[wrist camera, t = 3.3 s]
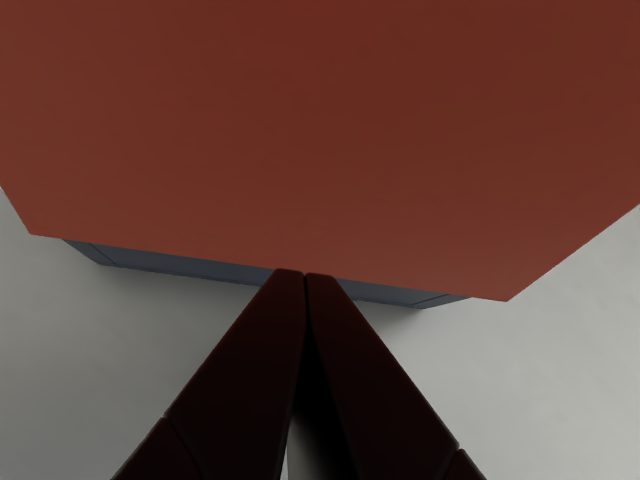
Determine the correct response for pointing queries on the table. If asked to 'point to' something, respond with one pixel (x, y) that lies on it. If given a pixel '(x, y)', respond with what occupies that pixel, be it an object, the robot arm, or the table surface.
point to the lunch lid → (326, 132)
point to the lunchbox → (250, 274)
